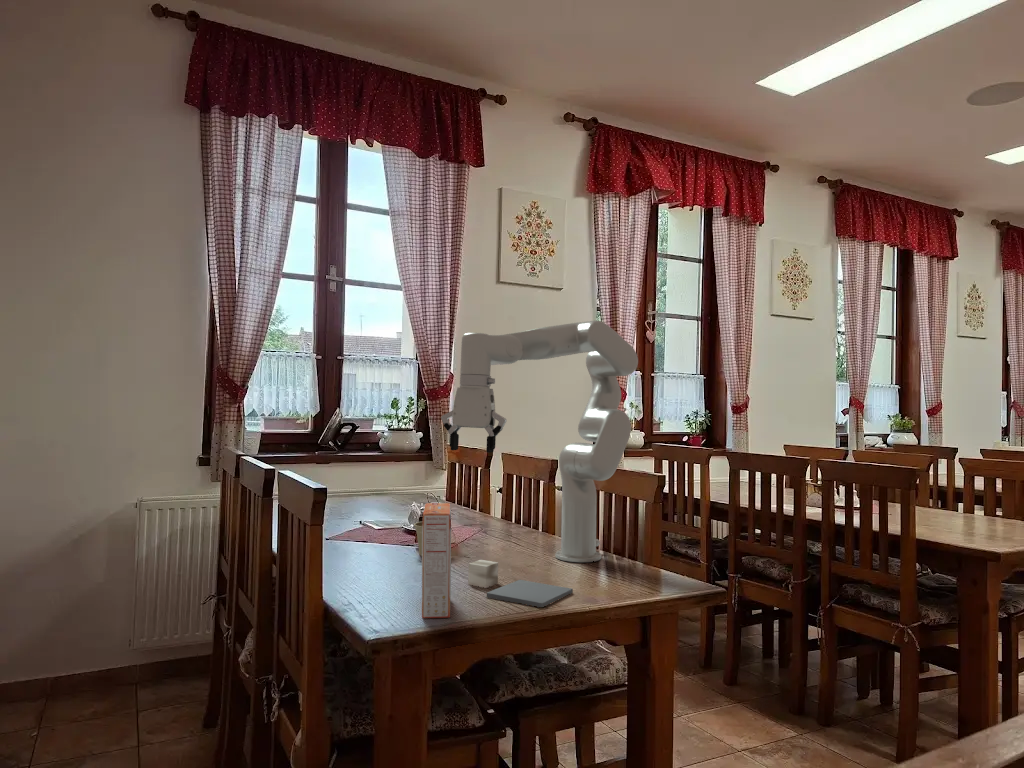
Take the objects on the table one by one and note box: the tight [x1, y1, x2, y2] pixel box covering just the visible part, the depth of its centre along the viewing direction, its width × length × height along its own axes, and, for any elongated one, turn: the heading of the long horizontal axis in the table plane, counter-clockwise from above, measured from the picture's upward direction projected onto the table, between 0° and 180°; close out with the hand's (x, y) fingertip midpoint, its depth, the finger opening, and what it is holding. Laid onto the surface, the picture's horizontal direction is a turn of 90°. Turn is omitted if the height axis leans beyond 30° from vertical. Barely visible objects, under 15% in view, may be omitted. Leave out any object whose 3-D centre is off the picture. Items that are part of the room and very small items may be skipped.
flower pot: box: [413, 521, 422, 557], centre depth 200 cm, size 9×9×9 cm
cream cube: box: [467, 559, 499, 589], centre depth 170 cm, size 5×5×5 cm
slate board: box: [486, 579, 574, 608], centre depth 161 cm, size 14×14×1 cm
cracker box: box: [421, 502, 452, 619], centre depth 150 cm, size 14×6×21 cm, turn 5°
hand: (472, 451), depth 180 cm, fingers open, 9 cm apart
